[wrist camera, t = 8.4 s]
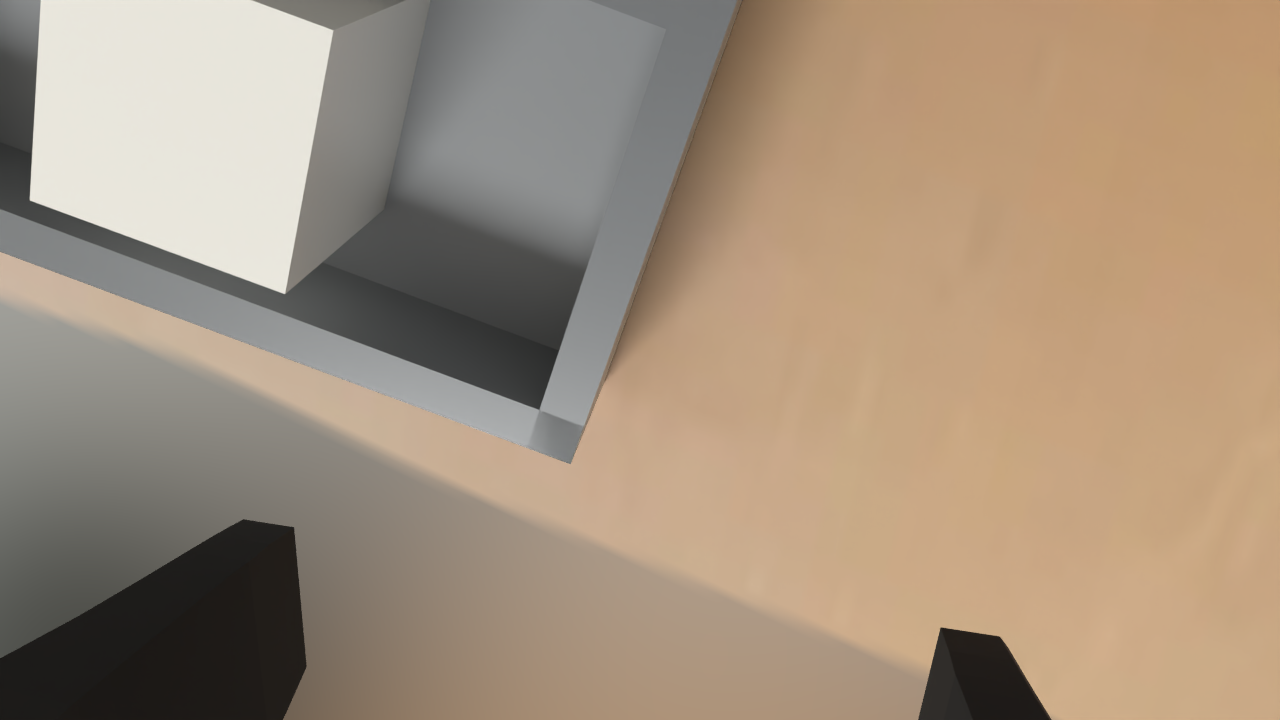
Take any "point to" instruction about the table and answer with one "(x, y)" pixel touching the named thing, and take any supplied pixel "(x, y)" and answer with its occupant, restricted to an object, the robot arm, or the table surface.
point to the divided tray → (450, 213)
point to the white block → (224, 123)
